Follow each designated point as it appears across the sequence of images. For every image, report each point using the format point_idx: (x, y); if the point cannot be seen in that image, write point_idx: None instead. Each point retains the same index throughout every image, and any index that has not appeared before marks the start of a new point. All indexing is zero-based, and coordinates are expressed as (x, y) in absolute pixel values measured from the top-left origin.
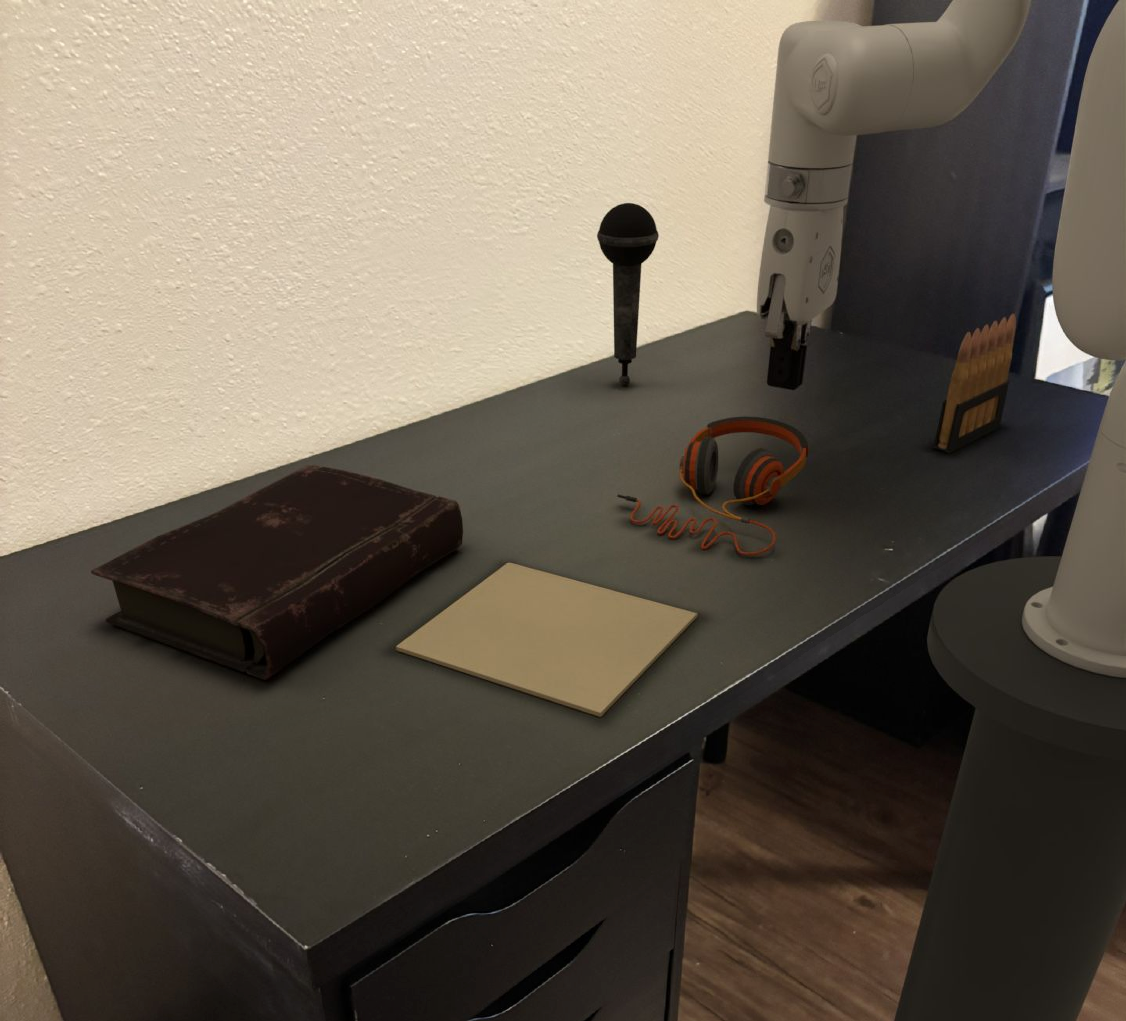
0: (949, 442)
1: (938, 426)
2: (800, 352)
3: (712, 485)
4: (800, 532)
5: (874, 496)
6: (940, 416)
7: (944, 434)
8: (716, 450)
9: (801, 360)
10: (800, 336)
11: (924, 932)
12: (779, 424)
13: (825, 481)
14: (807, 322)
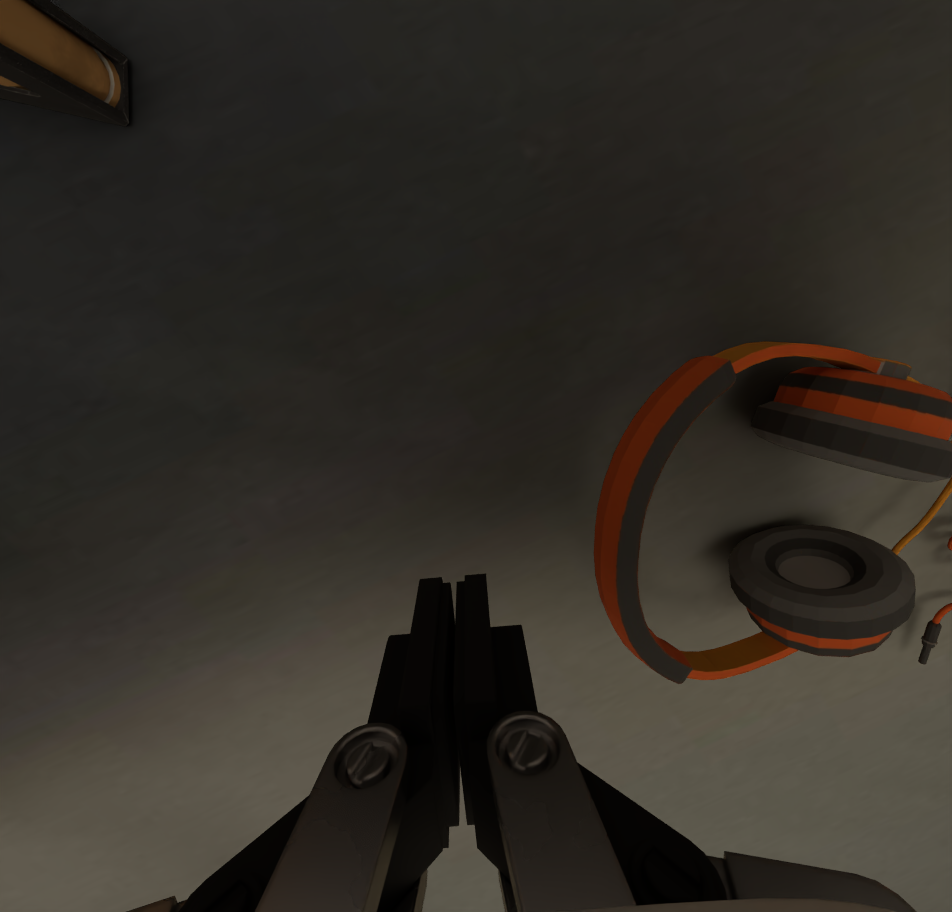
0: (98, 40)
1: (61, 86)
2: (492, 692)
3: (795, 531)
4: (912, 235)
5: (594, 148)
6: (22, 65)
7: (79, 60)
8: (800, 589)
9: (471, 652)
10: (505, 792)
11: None
12: (638, 512)
13: (563, 323)
14: (761, 905)
